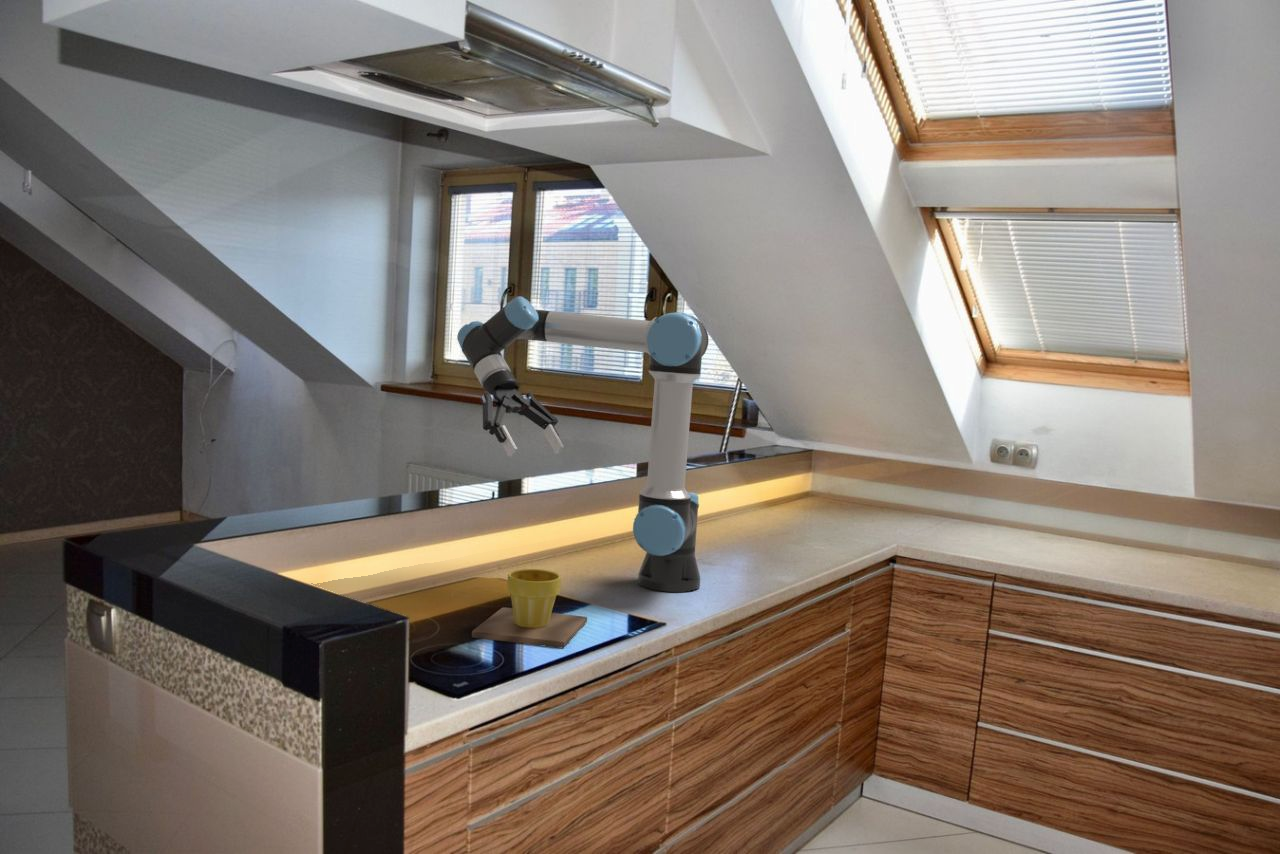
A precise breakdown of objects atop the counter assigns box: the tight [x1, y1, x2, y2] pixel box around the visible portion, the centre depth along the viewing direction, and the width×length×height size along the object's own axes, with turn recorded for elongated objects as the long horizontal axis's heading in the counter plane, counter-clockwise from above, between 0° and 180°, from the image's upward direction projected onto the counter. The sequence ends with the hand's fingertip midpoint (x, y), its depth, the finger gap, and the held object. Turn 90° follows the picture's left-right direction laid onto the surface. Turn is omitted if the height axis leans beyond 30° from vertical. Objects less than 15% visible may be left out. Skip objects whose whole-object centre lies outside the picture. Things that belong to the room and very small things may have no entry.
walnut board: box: [471, 606, 588, 649], centre depth 187 cm, size 18×18×1 cm
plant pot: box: [506, 568, 562, 628], centre depth 187 cm, size 10×10×10 cm
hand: (537, 451), depth 210 cm, fingers open, 13 cm apart
